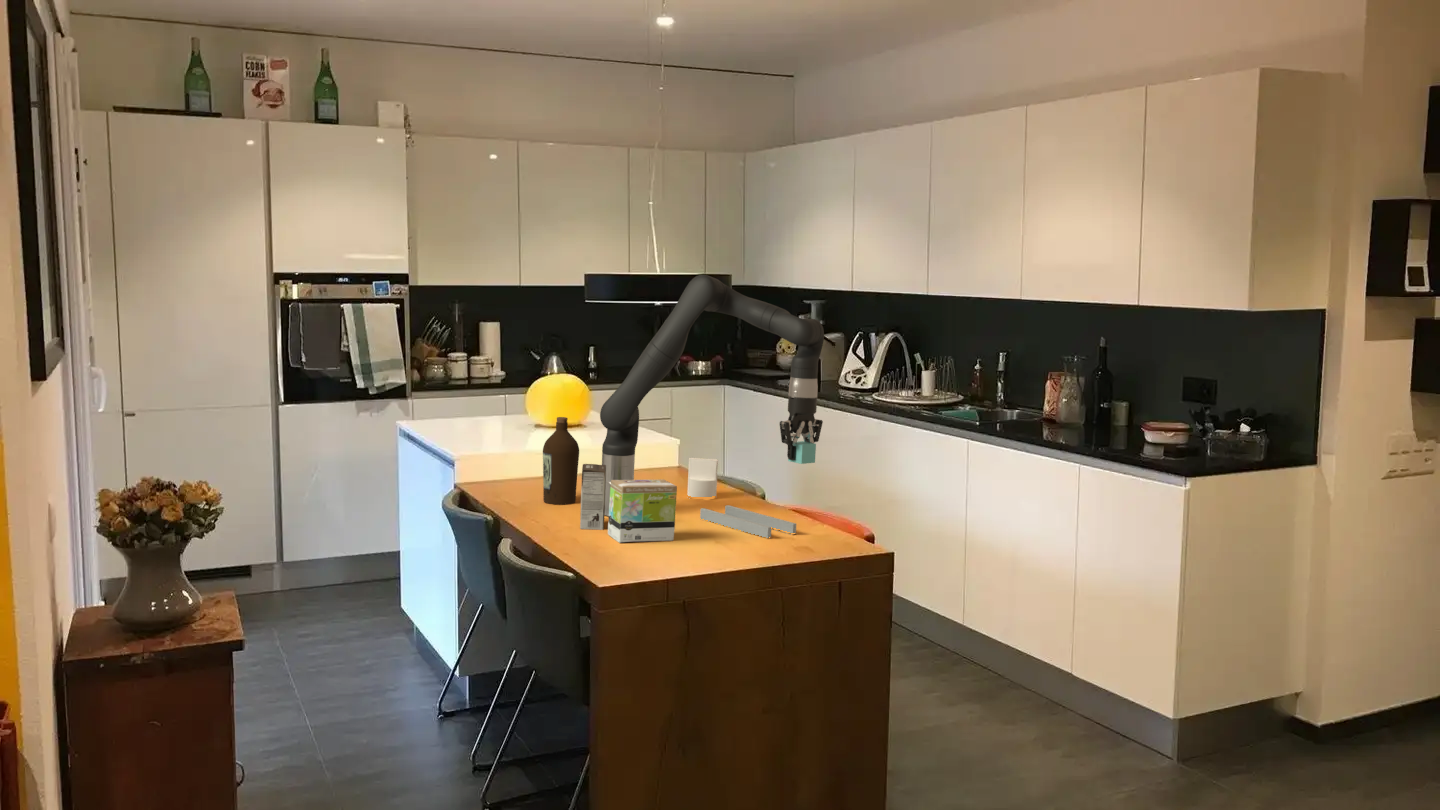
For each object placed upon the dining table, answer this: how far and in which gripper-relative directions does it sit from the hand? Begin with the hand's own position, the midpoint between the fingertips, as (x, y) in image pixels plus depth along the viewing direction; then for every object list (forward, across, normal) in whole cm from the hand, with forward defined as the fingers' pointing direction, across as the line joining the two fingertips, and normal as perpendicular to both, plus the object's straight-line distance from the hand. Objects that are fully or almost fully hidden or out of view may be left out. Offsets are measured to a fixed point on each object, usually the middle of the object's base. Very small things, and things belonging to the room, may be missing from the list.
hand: (799, 458), depth 302 cm
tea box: (+22, +36, -20) cm, 46 cm away
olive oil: (+22, +29, -70) cm, 79 cm away
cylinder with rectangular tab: (+22, -14, -56) cm, 62 cm away
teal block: (+1, 0, +1) cm, 1 cm away
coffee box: (+22, +39, -38) cm, 59 cm away
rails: (+21, +2, -17) cm, 27 cm away
